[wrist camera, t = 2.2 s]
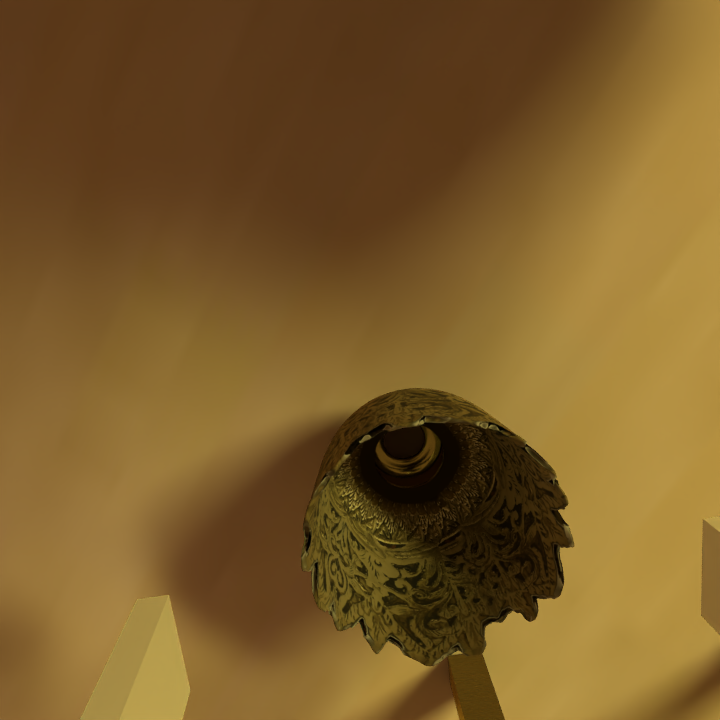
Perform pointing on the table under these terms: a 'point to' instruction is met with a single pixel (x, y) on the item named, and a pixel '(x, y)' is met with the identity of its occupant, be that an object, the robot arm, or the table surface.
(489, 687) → the trapdoor frame
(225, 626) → the table surface
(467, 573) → the dark piece
